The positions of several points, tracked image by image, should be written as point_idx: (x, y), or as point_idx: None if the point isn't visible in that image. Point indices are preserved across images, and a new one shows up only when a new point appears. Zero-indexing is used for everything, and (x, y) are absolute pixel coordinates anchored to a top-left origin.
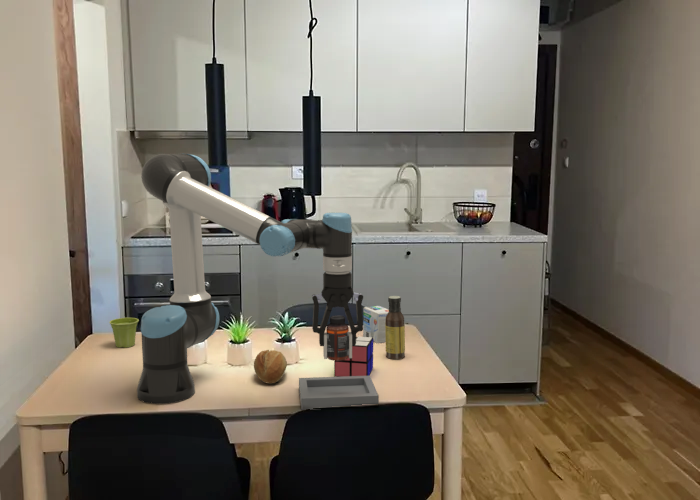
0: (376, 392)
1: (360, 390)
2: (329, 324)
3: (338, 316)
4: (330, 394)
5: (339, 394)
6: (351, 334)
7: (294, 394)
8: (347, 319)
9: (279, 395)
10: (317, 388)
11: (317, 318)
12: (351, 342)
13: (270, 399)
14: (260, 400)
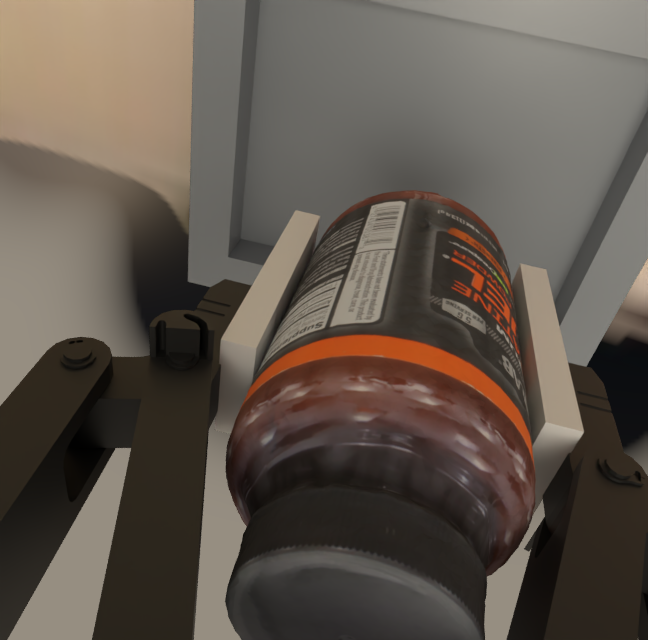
0: (597, 338)
1: (586, 157)
2: (248, 508)
3: (377, 628)
4: (379, 161)
5: None
6: None
7: (189, 22)
8: (548, 597)
9: (101, 12)
10: (329, 27)
11: (23, 588)
12: None
13: (57, 65)
14: (7, 64)
